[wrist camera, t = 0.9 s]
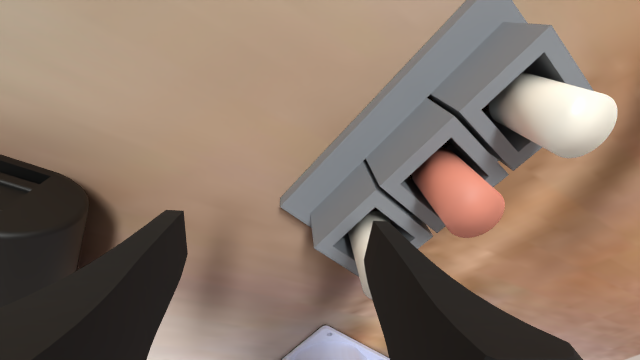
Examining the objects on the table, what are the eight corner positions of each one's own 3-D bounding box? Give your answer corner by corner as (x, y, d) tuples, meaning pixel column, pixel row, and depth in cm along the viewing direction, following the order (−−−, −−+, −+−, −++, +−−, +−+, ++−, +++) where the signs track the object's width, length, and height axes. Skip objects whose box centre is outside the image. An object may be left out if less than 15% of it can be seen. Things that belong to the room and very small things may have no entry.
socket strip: (562, 90, 21) (631, 111, 17) (367, 257, 27) (383, 305, 22) (484, -20, 18) (547, -28, 13) (280, 197, 23) (278, 241, 19)
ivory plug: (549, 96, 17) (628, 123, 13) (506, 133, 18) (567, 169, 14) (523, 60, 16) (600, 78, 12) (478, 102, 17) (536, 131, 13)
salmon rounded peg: (468, 167, 19) (516, 209, 15) (431, 198, 20) (468, 246, 16) (439, 138, 18) (483, 176, 14) (402, 172, 19) (433, 217, 15)
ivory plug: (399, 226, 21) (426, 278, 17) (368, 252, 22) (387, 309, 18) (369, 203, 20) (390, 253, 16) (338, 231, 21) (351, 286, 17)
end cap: (90, 284, 26) (30, 367, 20) (-15, 258, 24) (-116, 343, 18) (114, 183, 22) (47, 250, 16) (-10, 143, 20) (-138, 202, 14)
